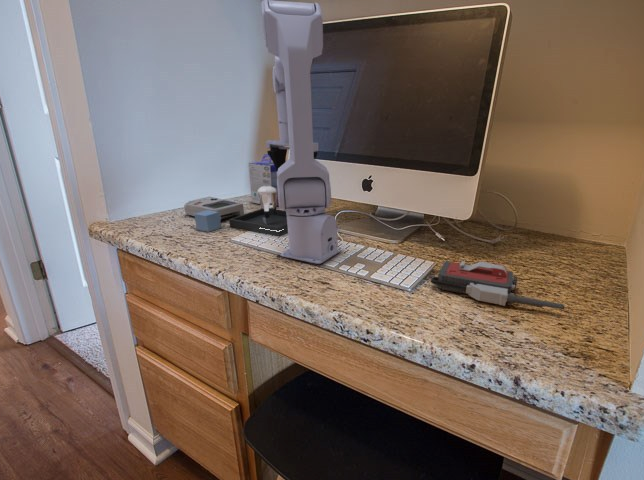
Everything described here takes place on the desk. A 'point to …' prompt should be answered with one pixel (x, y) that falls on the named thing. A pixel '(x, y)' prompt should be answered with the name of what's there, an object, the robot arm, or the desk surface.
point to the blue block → (207, 220)
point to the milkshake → (268, 203)
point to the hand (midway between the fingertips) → (294, 178)
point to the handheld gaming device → (214, 207)
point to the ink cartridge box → (262, 177)
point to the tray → (260, 222)
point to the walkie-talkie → (484, 283)
